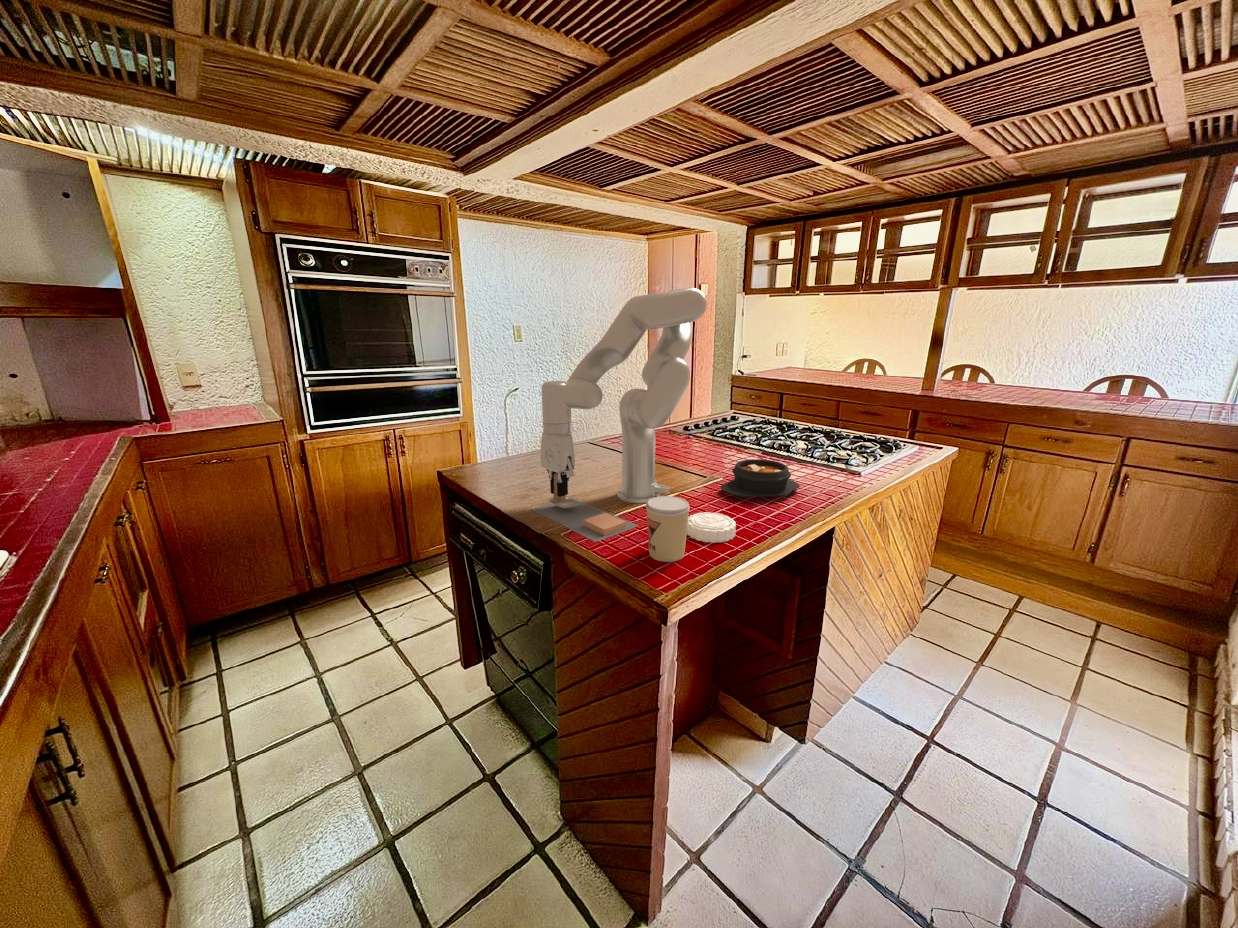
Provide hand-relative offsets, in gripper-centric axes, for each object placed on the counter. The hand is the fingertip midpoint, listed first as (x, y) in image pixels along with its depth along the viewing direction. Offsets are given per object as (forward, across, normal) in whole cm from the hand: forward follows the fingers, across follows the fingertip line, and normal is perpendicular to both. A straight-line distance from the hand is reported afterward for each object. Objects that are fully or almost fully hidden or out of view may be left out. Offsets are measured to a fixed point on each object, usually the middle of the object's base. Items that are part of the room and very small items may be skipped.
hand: (559, 493), depth 132 cm
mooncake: (+4, +38, +18) cm, 42 cm away
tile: (+3, +15, 0) cm, 15 cm away
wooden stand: (+2, +2, 0) cm, 3 cm away
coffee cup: (+4, +39, +1) cm, 39 cm away
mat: (+4, +10, 0) cm, 11 cm away
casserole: (+4, +30, +52) cm, 61 cm away
